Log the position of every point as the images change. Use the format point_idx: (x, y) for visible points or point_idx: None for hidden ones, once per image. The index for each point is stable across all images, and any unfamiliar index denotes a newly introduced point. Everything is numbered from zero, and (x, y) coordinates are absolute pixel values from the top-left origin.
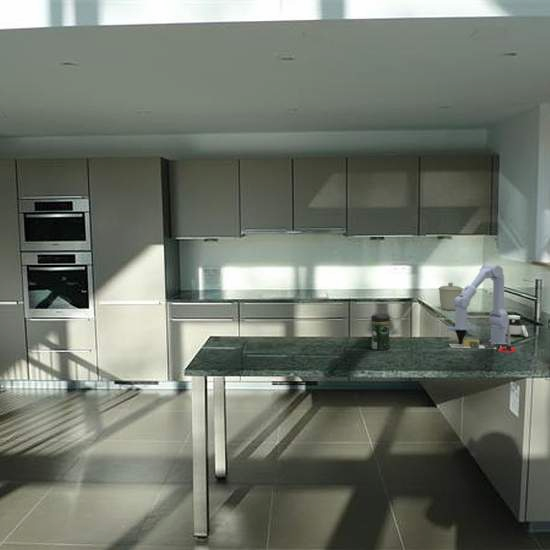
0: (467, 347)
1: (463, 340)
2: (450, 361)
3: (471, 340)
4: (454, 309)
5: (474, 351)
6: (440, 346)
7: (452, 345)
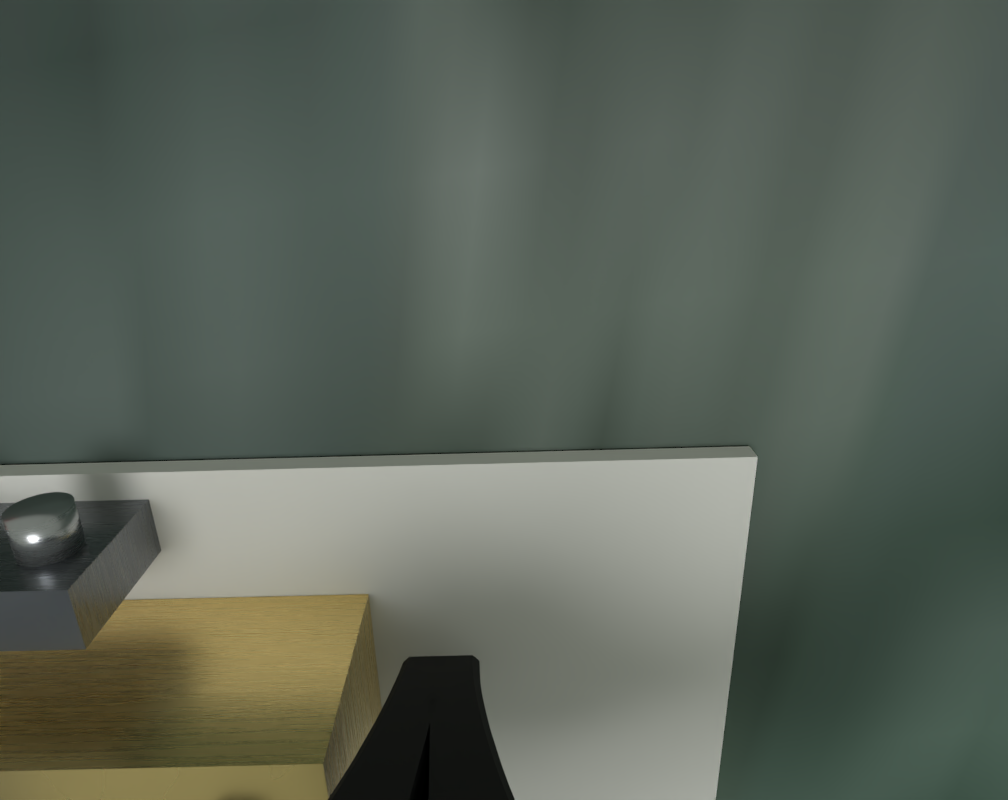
0: (251, 517)
1: (329, 767)
2: None
3: (15, 769)
4: None
5: (5, 42)
6: (999, 615)
7: (661, 693)
